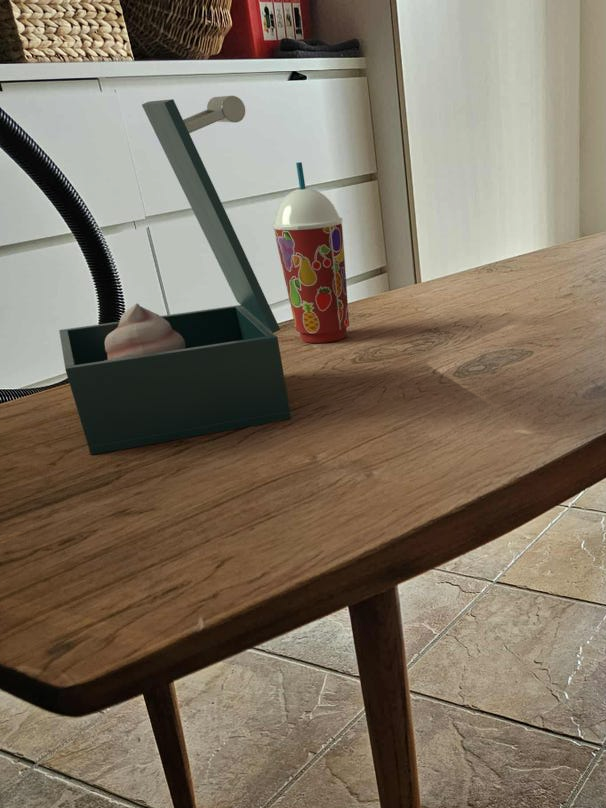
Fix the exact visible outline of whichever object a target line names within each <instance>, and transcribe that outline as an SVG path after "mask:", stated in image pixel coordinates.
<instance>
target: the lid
mask: <svg viewBox="0 0 606 808" xmlns="http://www.w3.org/2000/svg"><path fill="white" fill-rule="evenodd" d="M141 107H142V108H143V111H144V113H145V115H146V117H147V119H148V121H149V124H150V125H151V127H152V129H153V131H154V133H155V136H156V138H157V140H158V142H159V144H160V146H161V147H162V150H163V152H164V154H165V156H166V158H167V160H168V162H169V164H170V167H171V168H172V170H173V172H174V174H175V177H176V179H177V180H178V181H177V182H178V183H179V185H180V187H181V189H182V191H183V193H184V195H185V197H186V199H187V201H188V203H189V206H190V208H191V210H192V212H193V214H194V216H195V218H196V219H197V222H198V224H199V226H200V228H201V230H202V232H203V235H204V237H205V239H206V240H207V243H208V245H209V247H210V249H211V251H212V253H213V255H214V258H215V259H216V261H217V264H218V265H219V268H220V270H221V272H222V273H223V275H224V278H225V280H226V282H227V284H228V286H229V288H230V290H231V292H232V294H233V296H234V298H235V300H236V302H237V303H238V305H242V306H243V307H244V308H245V309H246V310H247V311H248V312H249V313H251V314H252V315H253V316H254V317H255V318H256V319H257V320H258V321H260V322H261V323H262V324H263V325H264V326H265V327H266V328H267V329H269V330H270V331H271V332H272V333H273V334H275V333H276V332H279V331H280V330H281V328H280V326H279V324H278V322H277V320H276V319H277V318H276V317H275V315H274V312H273V310H272V309H271V307H270V306H271V305H270V304H269V302H268V300H267V297H266V296H265V294H264V291H263V288H262V286H261V284H260V283H259V281H258V278H257V276H256V274H255V272H254V270H253V268H252V265H251V263H250V261H249V259H248V257H247V255H246V253H245V251H244V248H243V246H242V244H241V242H240V240H239V238H238V235H237V233H236V231H235V229H234V226H233V224H232V221H231V219H230V218H229V216H228V214H227V212H226V209H225V207H224V205H223V203H222V200H221V199H220V196H219V195H218V192H217V190H216V188H215V186H214V184H213V181H212V179H211V177H210V175H209V172H208V170H207V169H206V167H205V164H204V162H203V160H202V157H201V155H200V153H199V151H198V149H197V147H196V145H195V142H194V140H193V138H192V137H191V133H193V132H194V133H195V132H196V131H198V130H200V129H203V128H205V127H207V126H210V125H213V124H214V123H216V122H219V123H240V122H241V121H243V120H244V118H245V115H246V105H245V104H244V101H243V100H242V99H241V98H240V97H238V96H237V95H221V96H214V97H212V98H210V99H209V100H208V102H207V105H206V109H204V110H202V111H200V112H198V113H195V114H193V115H191V116H188V117H186V118H184V119H183V117H182V115H181V113H180V110H179V108H178V105H177V104H176V102H175V99H173V98H172V99H163V100H151V101H146V102H144V103H141Z"/></svg>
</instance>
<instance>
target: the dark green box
mask: <svg viewBox="0 0 606 808" xmlns="http://www.w3.org/2000/svg"><path fill="white" fill-rule="evenodd" d="M160 316H161V317H163V318H164V319H165V320H167V321H168V322H169V323H170V325H171V327H172V329H173V330H174V331H176V332H178V333H179V334H180V335H181V336H182V337H183V339H184V341H185V349H180V350H173V351H167V352H160V353H153V354H147V355H140V356H133V357H127V358H120V359H114V360H108V357H107V352H106V351H105V339H106V337H107V335H108V334H109V333H111V332H112V331H114V330H115V329H116V328H117V327H118V325H119V322H120V321H114V322H108V323H100V324H99V323H98V324H93V325H86V326H79V327H78V326H77V327H71V328H63V329H59V338H60V345H61V351H62V356H63V357H62V358H63V363H64V364H63V365H64V369H65V373H66V376H67V379H68V383H69V387H70V389H71V393H72V397H73V401H74V403H75V407H76V410H77V414H78V417H79V420H80V424H81V428H82V430H83V433H84V437H85V441H86V443H87V447H88V450H89V454H90V456H93V455H99V454H104V453H109V452H116V451H121V450H122V451H123V450H126V449H127V450H128V449H132V448H138V447H142V446H149V445H153V444H160V443H166V442H170V441H177V440H181V439H186V438H192V437H199V436H205V435H210V434H215V433H221V432H225V431H226V432H227V431H231V430H236V429H242V428H243V429H244V428H248V427H252V426H260V425H265V424H270V423H275V422H282V421H286V420H291V419H292V414H291V408H290V403H289V397H288V391H287V385H286V379H285V373H284V372H285V371H284V368H283V361H282V356H281V349H280V344H279V338H278V336H277V335H276V334H275V333H272V332H271V331H270V330H269V329H267V328H266V327H265V326H264V325H263V324H262V323H261V322H260V321H258V320H257V319H256V318H255V317H254V316H253V315H252V314H251V313H249V312H248V311H247V310H246V309H245V308H244V307H243V306H242V305H240V304H237V305H230V306H223V307H216V308H208V309H201V310H194V311H187V312H180V313H179V312H178V313H172V314H165V315H160ZM105 360H107V361H105Z"/></svg>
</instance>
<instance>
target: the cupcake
mask: <svg viewBox="0 0 606 808" xmlns="http://www.w3.org/2000/svg"><path fill="white" fill-rule="evenodd" d="M161 316H162V315H159V314H158V313H155V312H154V311H151V310H149V309H147V308H145V307H143V306H141V305H140V304H139V303H138V302H137V303H134V304H133V305H132V306H130V308H128V309H127V310H125V311H124V312H123V314H121V317H120V320H119V321H118V322H119V325H118V327H117V328H116V329H115V330H114V331H112V332H111V333H109V334H108V335H107V337H106V339H105V351H106V352H107V357H108V360H114V359H120V358H127V357H133V356H140V355H147V354H153V353H160V352H167V351H173V350H180V349H185V341H184V339H183V337H182V336H181V335H180V334H179V333H178V332H176V331H174V330H173V329H172V327H171V325H170V323H169V322H168V321H167V320H165V319H164V318H163V317H161ZM105 361H107V360H105Z"/></svg>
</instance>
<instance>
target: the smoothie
mask: <svg viewBox="0 0 606 808" xmlns="http://www.w3.org/2000/svg"><path fill="white" fill-rule="evenodd" d="M295 164H296V173H297V179H298V185H299V188H297V189H294V190H293V191H290V192H289V193H288V194H287V195H285V197H283V199H282V200H281V201H280V202H279V204H278V207H277V209H276V213H275V218H274V222H272V224H271V226H272V229H273V231H274V237H275V242H276V246H277V250H278V255H279V258H280V259H279V260H280V264H281V268H282V272H283V277H284V281H285V286H286V290H287V291H286V292H287V294H288V300H289V304H290V309H291V313H292V318H293V323H294V327H295V331H296V332H298V333H299V335H300V338H301V340H302V341H303V342H305V343H309V344H327V343H333V342H337V341H340V340H343V339H344V338H345V337H346V336H347V328H348V327H350V317H349V301H348V288H347V274H346V259H345V257H346V256H345V246H344V245H345V244H344V232H343V231H344V230H343V218H342V217H340V215H339V212H338V211H337V209H336V207H335V204H333V202H332V201H331V200H330V199H329V198H328V197H327V196H326V195H325V194H323V193H322V192H320V191H318V190H315V189H312V188H308V187H307V188H306V182H305V176H304V168H303V162H302V161H301V162H299V161H298V162H296V163H295Z"/></svg>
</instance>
